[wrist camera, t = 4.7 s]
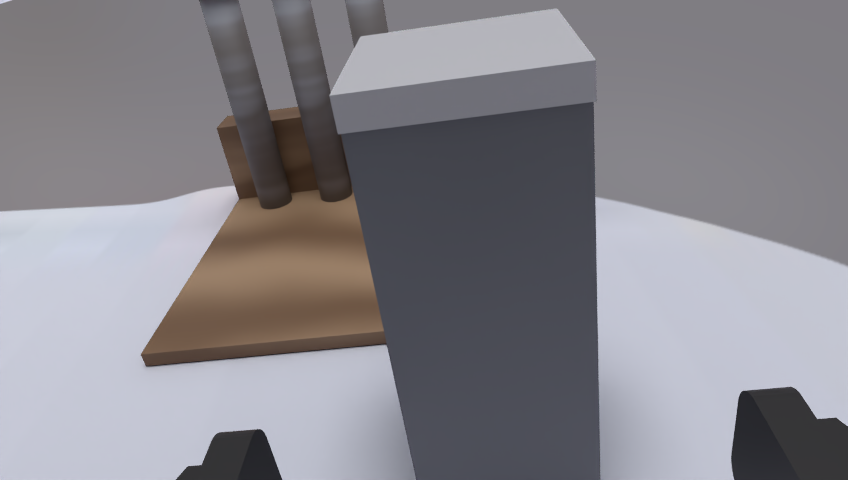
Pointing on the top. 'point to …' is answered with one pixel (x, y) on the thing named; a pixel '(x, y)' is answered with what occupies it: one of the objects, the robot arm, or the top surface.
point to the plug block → (482, 239)
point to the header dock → (278, 211)
